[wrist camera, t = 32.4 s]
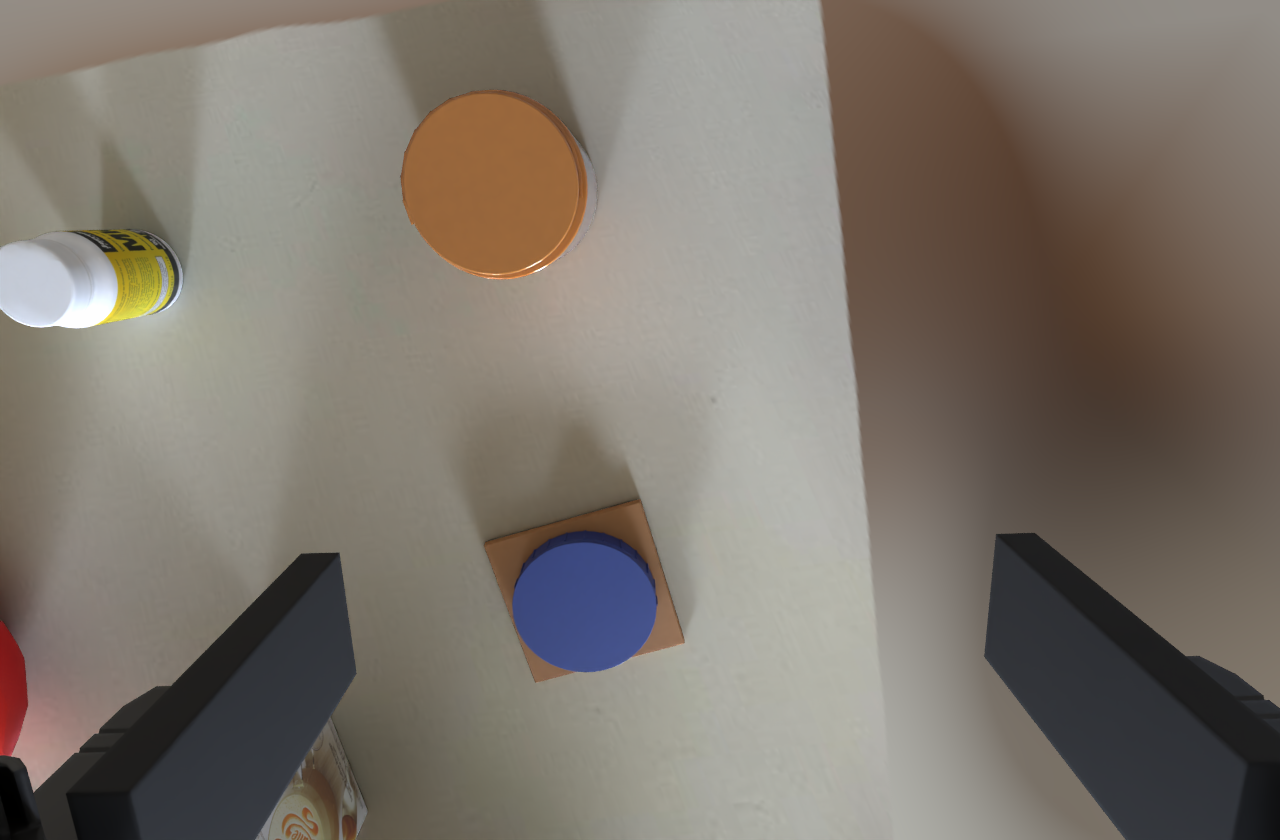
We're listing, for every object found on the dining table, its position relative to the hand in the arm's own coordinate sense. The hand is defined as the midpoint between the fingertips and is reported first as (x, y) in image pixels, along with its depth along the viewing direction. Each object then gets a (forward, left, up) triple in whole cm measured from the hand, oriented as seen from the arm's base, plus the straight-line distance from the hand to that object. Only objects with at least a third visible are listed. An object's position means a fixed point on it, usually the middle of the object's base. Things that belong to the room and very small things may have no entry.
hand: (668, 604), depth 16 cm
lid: (+8, +14, -29) cm, 33 cm away
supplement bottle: (+26, -12, -31) cm, 42 cm away
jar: (+4, -10, -31) cm, 32 cm away
